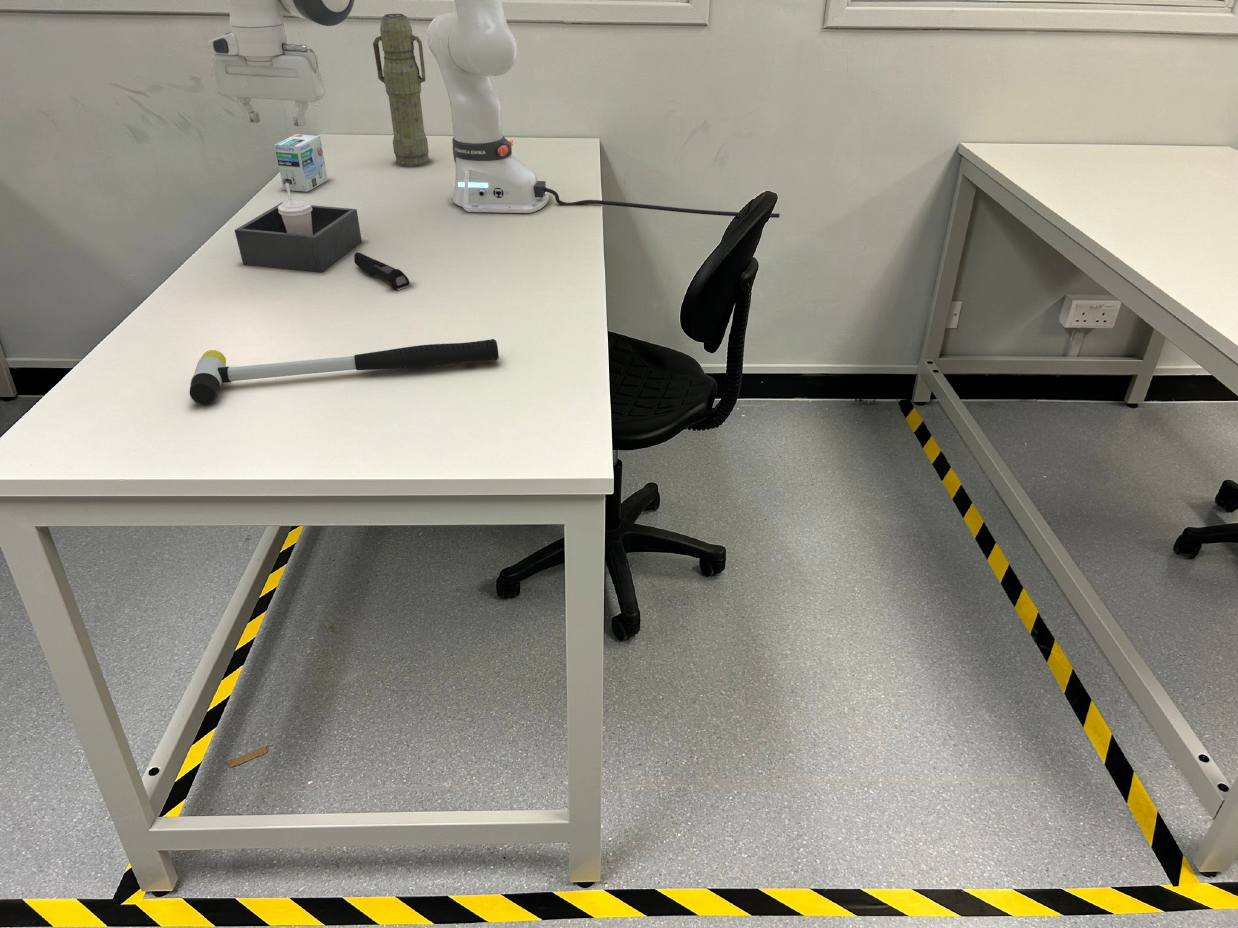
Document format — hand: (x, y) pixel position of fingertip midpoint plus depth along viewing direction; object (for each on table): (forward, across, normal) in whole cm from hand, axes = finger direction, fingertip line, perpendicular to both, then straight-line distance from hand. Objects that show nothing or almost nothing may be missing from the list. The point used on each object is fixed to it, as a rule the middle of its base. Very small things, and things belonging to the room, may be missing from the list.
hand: (277, 124), depth 160 cm
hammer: (+25, -33, +44) cm, 61 cm away
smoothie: (+25, 0, 0) cm, 25 cm away
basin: (+25, 0, 0) cm, 25 cm away
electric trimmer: (+25, -21, +8) cm, 33 cm away
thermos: (+25, +6, -66) cm, 71 cm away
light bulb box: (+25, +22, -41) cm, 53 cm away
